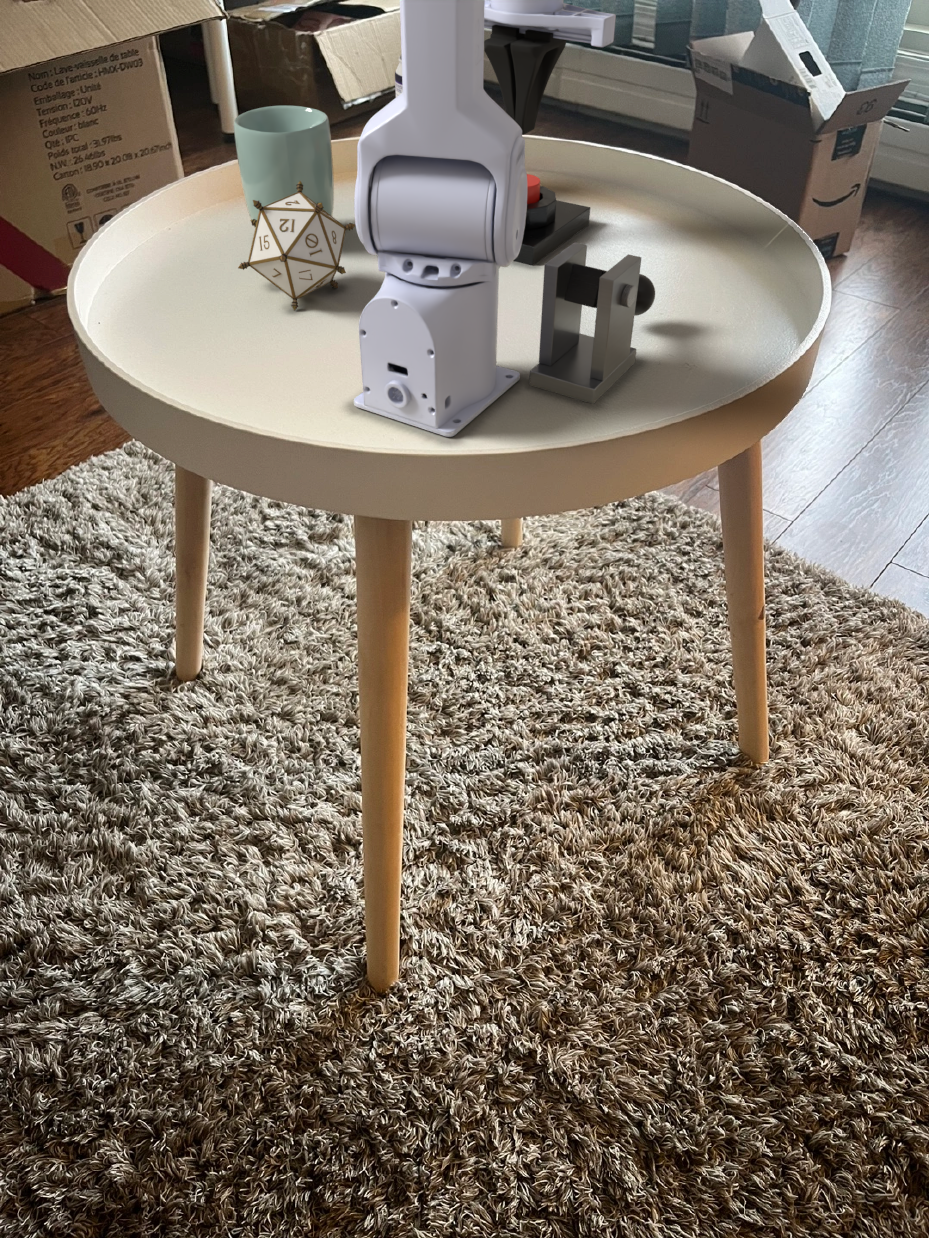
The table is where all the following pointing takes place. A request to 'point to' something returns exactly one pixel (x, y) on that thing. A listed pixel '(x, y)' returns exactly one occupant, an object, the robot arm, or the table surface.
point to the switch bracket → (576, 357)
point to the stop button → (533, 189)
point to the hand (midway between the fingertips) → (521, 130)
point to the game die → (296, 245)
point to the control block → (549, 226)
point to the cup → (284, 155)
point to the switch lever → (587, 286)
